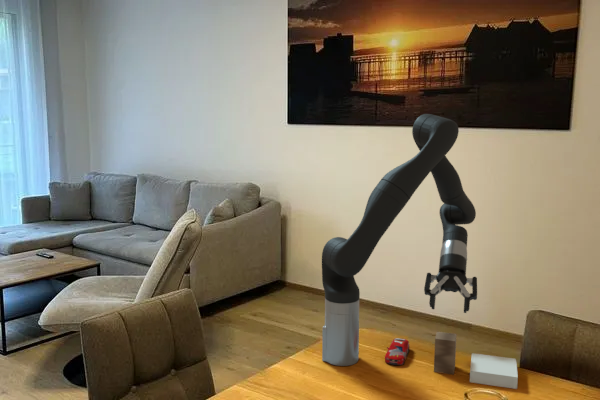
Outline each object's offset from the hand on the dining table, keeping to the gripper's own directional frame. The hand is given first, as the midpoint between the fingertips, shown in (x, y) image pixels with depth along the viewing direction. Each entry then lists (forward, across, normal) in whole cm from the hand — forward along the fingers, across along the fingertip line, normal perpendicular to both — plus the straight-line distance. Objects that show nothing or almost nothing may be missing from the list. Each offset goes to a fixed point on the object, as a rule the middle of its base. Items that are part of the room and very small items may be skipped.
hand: (448, 309), depth 152 cm
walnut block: (+16, 0, +2) cm, 16 cm away
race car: (+13, -13, +6) cm, 19 cm away
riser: (+16, +12, +2) cm, 20 cm away
